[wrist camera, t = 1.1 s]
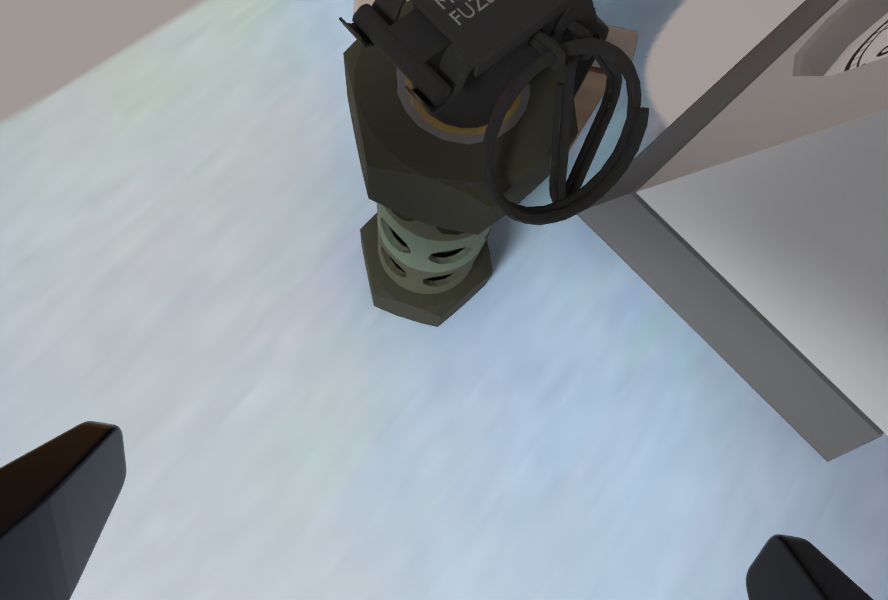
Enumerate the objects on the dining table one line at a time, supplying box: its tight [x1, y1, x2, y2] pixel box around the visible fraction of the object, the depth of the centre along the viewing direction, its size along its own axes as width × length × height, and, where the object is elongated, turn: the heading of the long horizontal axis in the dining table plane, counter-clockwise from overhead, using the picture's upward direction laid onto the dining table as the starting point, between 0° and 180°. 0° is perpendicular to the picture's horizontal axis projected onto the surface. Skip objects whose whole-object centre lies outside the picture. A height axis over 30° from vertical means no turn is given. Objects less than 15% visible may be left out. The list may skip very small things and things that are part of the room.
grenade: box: [339, 0, 649, 327], centre depth 16 cm, size 6×6×15 cm
